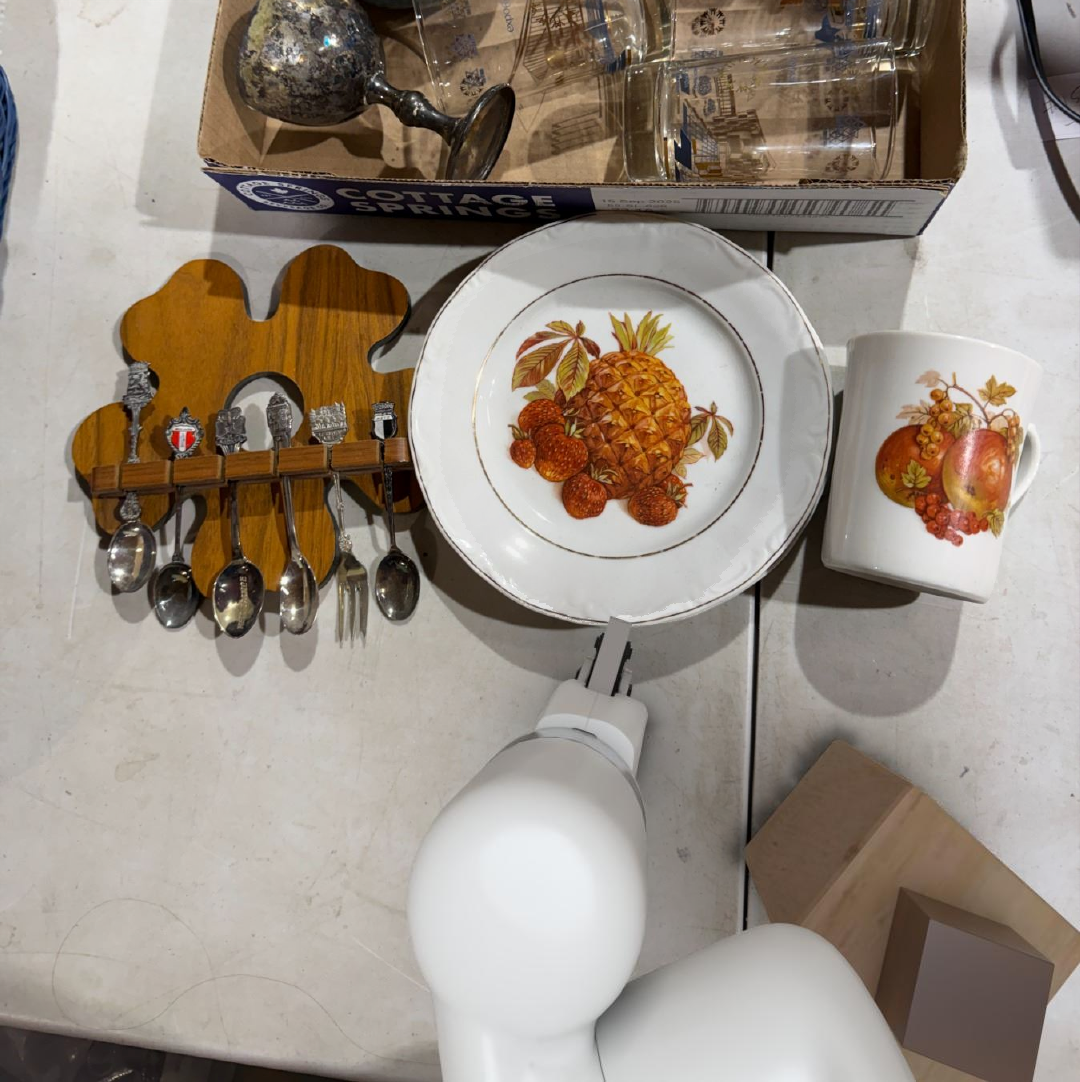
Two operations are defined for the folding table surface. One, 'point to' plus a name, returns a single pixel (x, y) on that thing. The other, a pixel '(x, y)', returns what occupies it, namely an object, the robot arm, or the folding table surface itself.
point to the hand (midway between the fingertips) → (580, 763)
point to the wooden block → (887, 872)
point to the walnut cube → (963, 989)
